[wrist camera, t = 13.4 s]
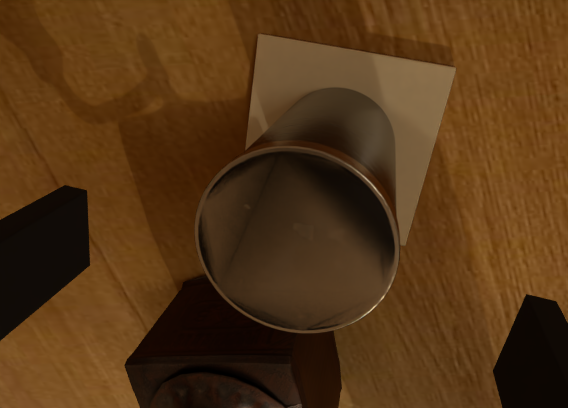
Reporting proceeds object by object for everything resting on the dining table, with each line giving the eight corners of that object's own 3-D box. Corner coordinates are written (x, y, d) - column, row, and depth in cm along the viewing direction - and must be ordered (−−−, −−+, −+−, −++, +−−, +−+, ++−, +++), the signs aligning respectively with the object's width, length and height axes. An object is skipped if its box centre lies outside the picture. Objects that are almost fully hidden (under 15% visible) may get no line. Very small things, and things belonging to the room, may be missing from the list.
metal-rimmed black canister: (285, 75, 27) (200, 126, 15) (411, 98, 26) (426, 171, 14) (269, 189, 30) (187, 307, 18) (381, 214, 29) (373, 355, 17)
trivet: (261, 32, 27) (257, 33, 26) (455, 66, 25) (456, 67, 25) (241, 204, 31) (238, 208, 31) (404, 241, 30) (405, 246, 29)
